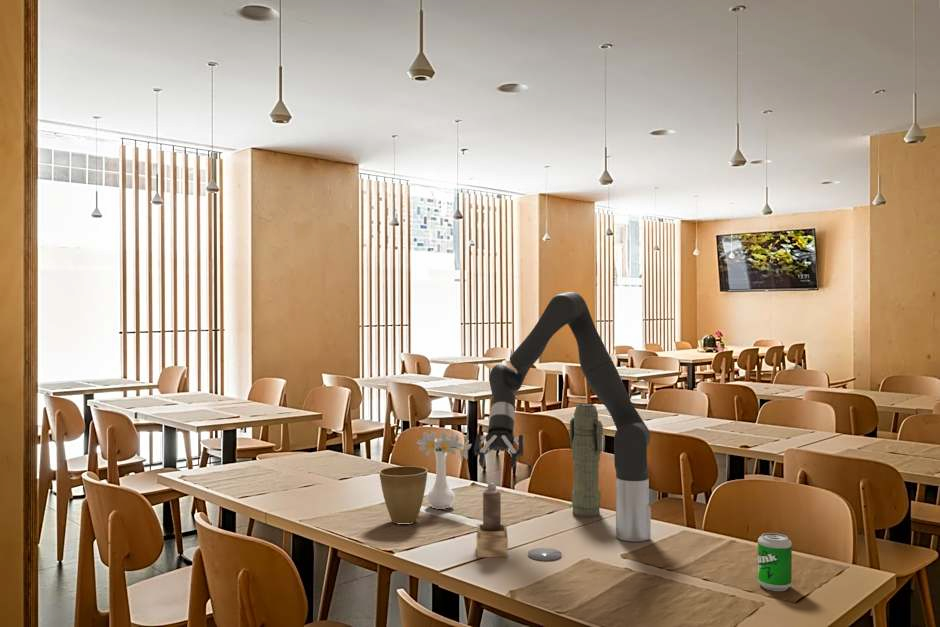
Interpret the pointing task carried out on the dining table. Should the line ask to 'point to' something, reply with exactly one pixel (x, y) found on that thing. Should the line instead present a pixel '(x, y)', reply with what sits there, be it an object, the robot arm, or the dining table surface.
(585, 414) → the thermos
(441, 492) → the flower vase
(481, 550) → the oak caddy
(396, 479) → the plant pot
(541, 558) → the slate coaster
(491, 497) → the pepper mill
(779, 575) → the soda can
